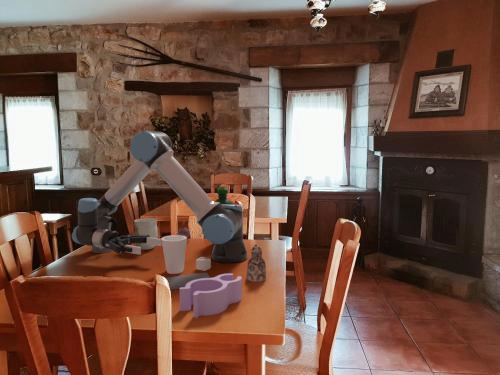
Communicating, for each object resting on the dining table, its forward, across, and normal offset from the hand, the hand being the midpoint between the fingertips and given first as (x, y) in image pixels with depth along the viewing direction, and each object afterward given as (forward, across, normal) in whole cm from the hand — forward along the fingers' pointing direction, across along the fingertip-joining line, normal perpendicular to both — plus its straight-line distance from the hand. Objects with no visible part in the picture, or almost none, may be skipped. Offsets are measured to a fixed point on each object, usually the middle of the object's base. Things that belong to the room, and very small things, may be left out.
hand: (151, 246), depth 157 cm
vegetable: (-10, -42, -9) cm, 44 cm away
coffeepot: (-35, -15, -11) cm, 39 cm away
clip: (+38, +23, -7) cm, 45 cm away
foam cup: (+11, 0, -8) cm, 14 cm away
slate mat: (+22, +9, -8) cm, 25 cm away
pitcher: (-20, -26, -10) cm, 34 cm away
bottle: (+10, -46, -8) cm, 47 cm away
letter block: (+20, -7, -8) cm, 22 cm away
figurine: (+43, -4, -7) cm, 43 cm away
